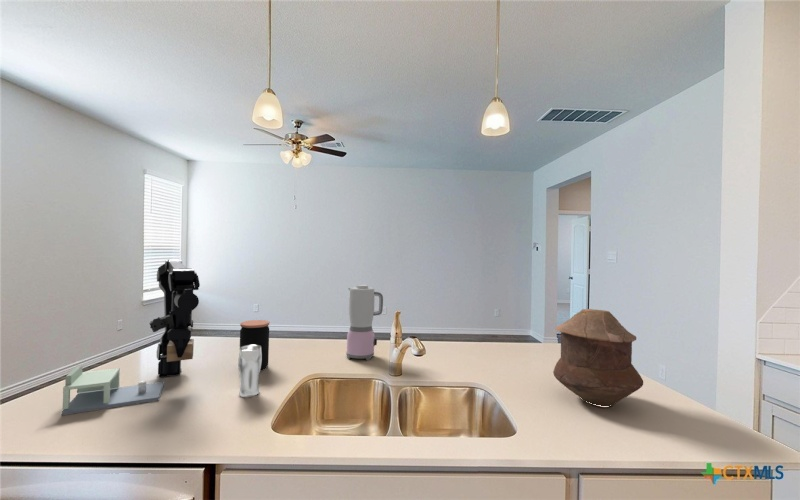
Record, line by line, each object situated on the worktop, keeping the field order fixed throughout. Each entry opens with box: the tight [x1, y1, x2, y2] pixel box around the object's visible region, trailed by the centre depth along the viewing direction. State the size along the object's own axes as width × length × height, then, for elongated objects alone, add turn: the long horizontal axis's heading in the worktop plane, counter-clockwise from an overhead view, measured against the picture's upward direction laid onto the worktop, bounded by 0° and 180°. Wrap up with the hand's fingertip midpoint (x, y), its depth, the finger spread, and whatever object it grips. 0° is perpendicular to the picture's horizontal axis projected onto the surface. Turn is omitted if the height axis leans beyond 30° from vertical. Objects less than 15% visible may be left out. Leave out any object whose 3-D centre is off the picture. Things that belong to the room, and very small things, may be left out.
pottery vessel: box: [552, 308, 644, 406], centre depth 115 cm, size 26×26×30 cm
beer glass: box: [237, 345, 262, 398], centre depth 113 cm, size 7×7×15 cm
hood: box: [62, 364, 121, 410], centre depth 104 cm, size 10×13×9 cm
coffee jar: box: [239, 319, 270, 372], centre depth 137 cm, size 11×11×18 cm
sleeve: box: [167, 338, 195, 362], centre depth 115 cm, size 7×7×5 cm
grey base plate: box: [61, 380, 165, 416], centre depth 107 cm, size 22×14×4 cm, turn 119°
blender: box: [345, 284, 384, 362], centre depth 155 cm, size 16×12×32 cm
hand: (180, 354), depth 115 cm, fingers closed on sleeve, 7 cm apart
